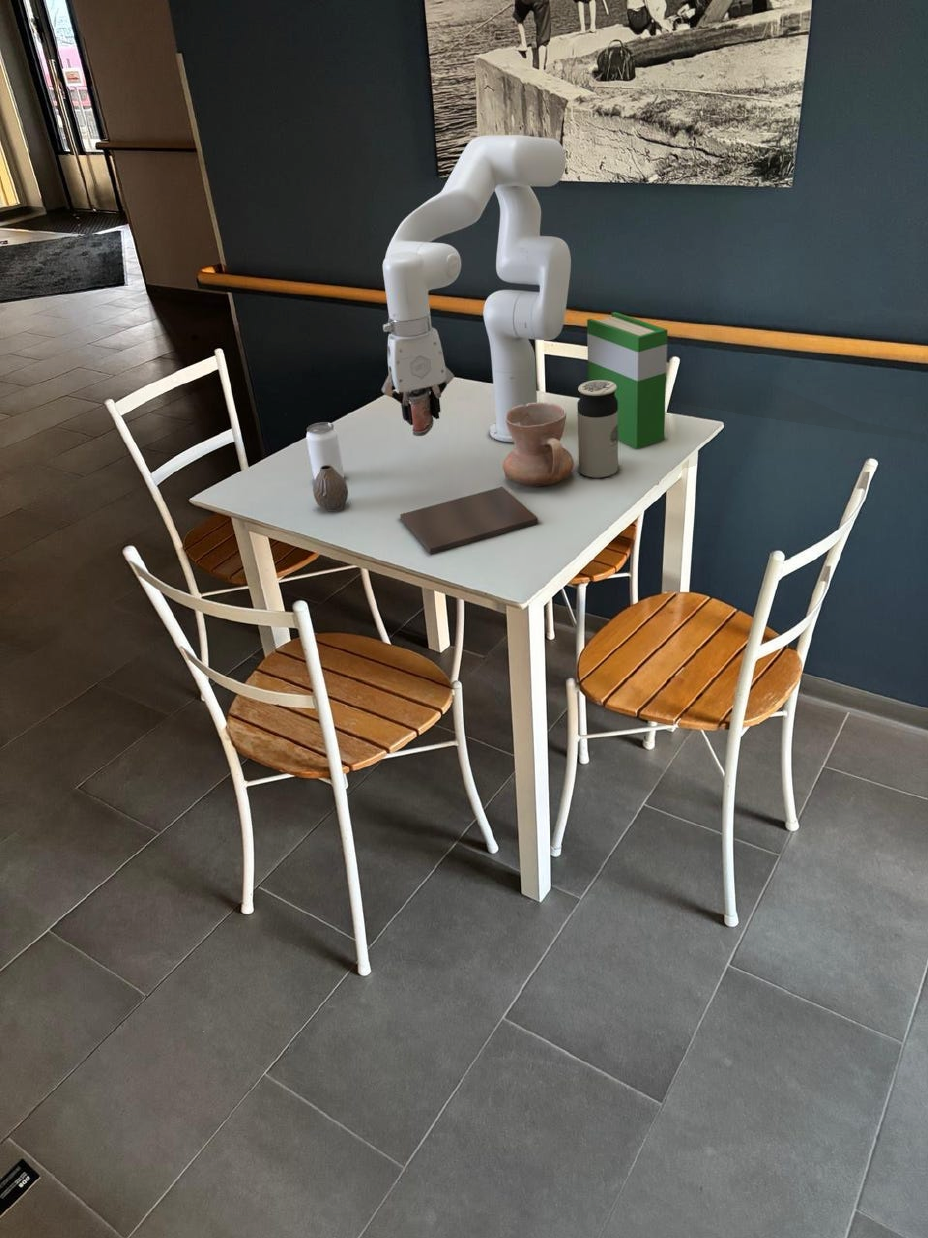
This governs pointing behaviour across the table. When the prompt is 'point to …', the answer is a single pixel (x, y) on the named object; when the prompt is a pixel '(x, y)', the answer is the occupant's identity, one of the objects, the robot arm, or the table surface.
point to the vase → (330, 489)
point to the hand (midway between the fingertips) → (422, 418)
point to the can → (324, 447)
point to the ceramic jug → (537, 445)
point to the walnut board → (468, 519)
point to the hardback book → (631, 373)
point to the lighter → (421, 411)
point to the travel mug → (598, 429)
